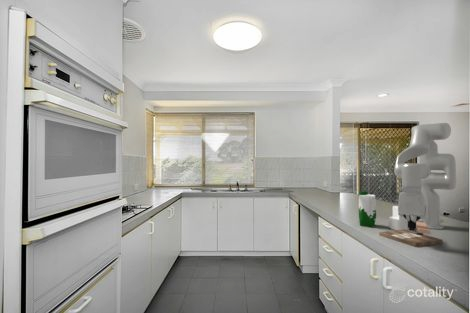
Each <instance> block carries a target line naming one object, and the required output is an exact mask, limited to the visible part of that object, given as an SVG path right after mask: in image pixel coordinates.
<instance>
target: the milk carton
mask: <svg viewBox="0 0 470 313" xmlns="http://www.w3.org/2000/svg"><path fill="white" fill-rule="evenodd" d="M358 193H359V194H358V219H359V226H361V227H367V228H375V225H376V224H375V223H376V220H377V200H376V194H371V193H370V194H368V191H367V190H359V192H358Z"/></svg>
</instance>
